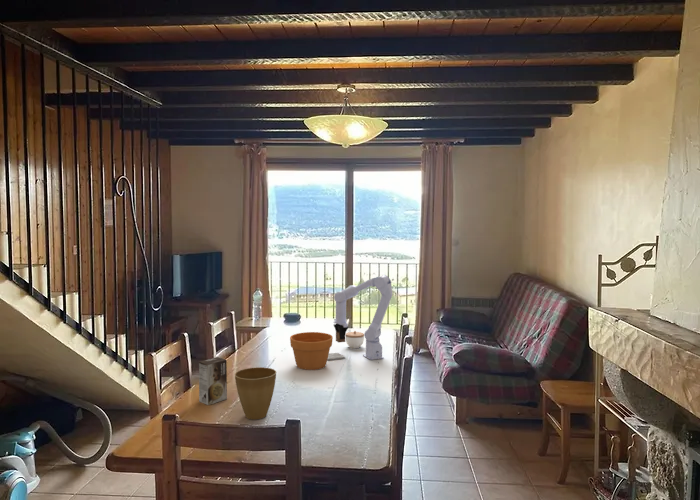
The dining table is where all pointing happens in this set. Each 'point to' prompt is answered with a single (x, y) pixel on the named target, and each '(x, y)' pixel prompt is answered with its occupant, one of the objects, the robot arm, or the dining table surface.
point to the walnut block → (339, 338)
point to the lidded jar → (354, 339)
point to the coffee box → (212, 380)
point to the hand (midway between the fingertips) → (340, 338)
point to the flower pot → (311, 349)
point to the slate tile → (335, 356)
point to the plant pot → (255, 390)
